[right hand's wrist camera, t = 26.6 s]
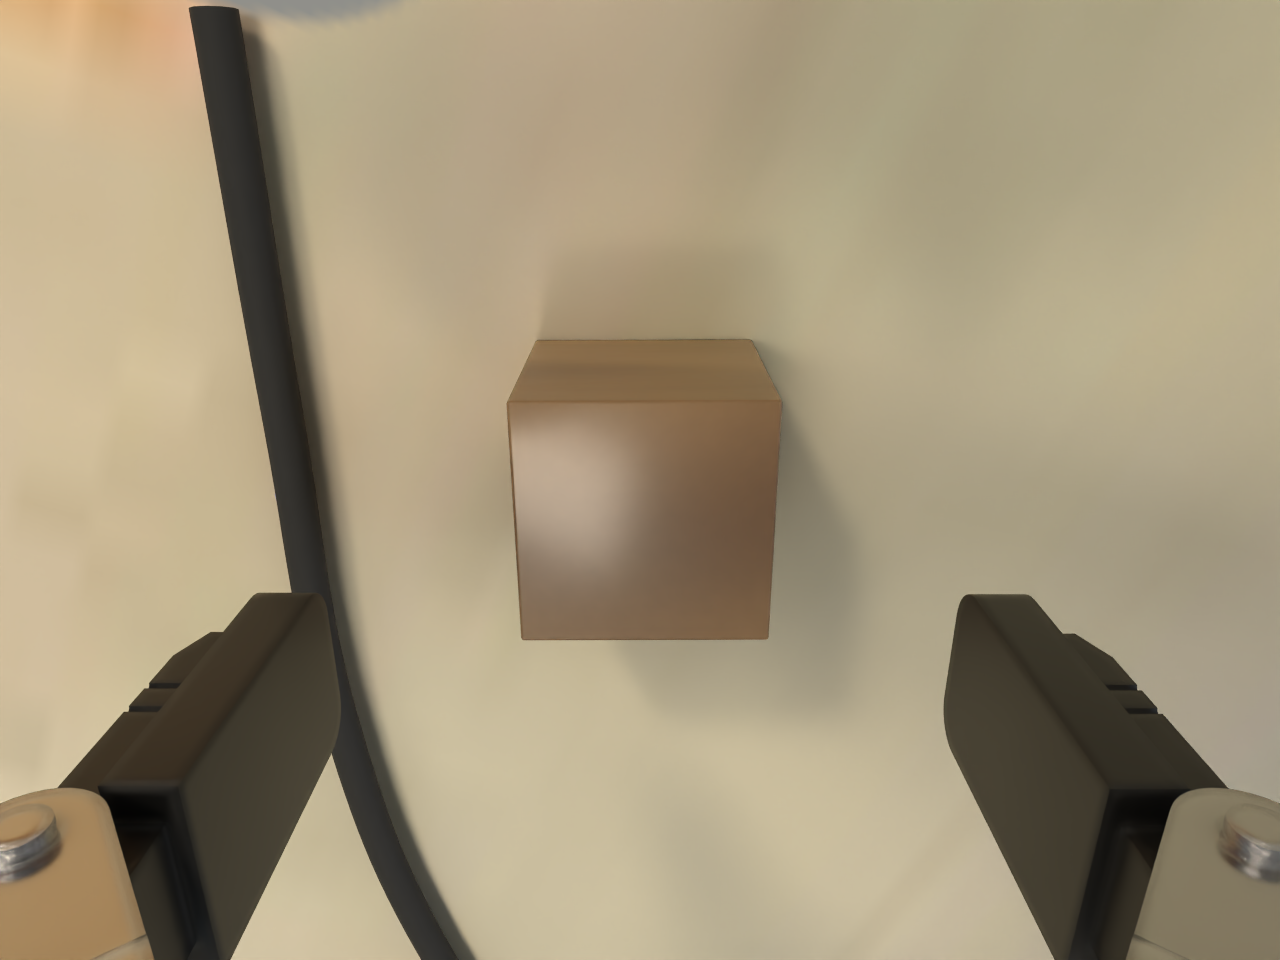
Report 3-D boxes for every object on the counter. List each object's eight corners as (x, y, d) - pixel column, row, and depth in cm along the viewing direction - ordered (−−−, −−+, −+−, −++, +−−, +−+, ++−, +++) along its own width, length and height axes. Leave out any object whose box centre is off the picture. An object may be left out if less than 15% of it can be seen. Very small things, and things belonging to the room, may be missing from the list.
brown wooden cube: (743, 536, 20) (768, 640, 16) (545, 537, 20) (521, 641, 16) (752, 339, 18) (782, 400, 14) (535, 339, 18) (506, 401, 14)
